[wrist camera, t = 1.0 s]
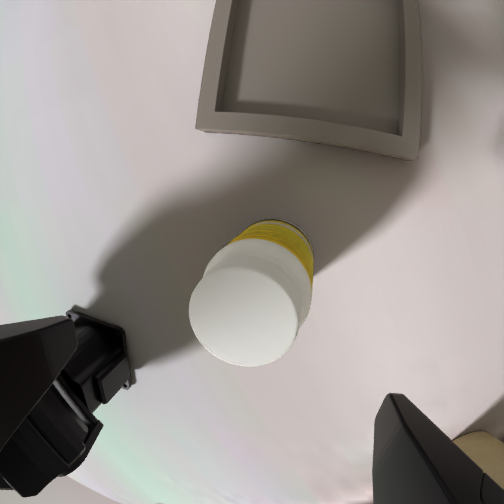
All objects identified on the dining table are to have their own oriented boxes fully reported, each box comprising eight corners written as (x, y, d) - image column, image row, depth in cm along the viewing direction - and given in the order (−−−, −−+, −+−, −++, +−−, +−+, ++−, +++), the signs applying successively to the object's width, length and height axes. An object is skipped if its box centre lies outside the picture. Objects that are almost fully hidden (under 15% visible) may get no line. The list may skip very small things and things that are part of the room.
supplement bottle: (243, 209, 18) (185, 238, 10) (322, 227, 17) (327, 272, 9) (230, 284, 19) (174, 355, 11) (303, 302, 19) (291, 388, 11)
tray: (206, 132, 17) (195, 128, 15) (231, -23, 14) (224, -36, 12) (407, 160, 15) (417, 159, 13) (409, -4, 12) (415, -17, 10)
